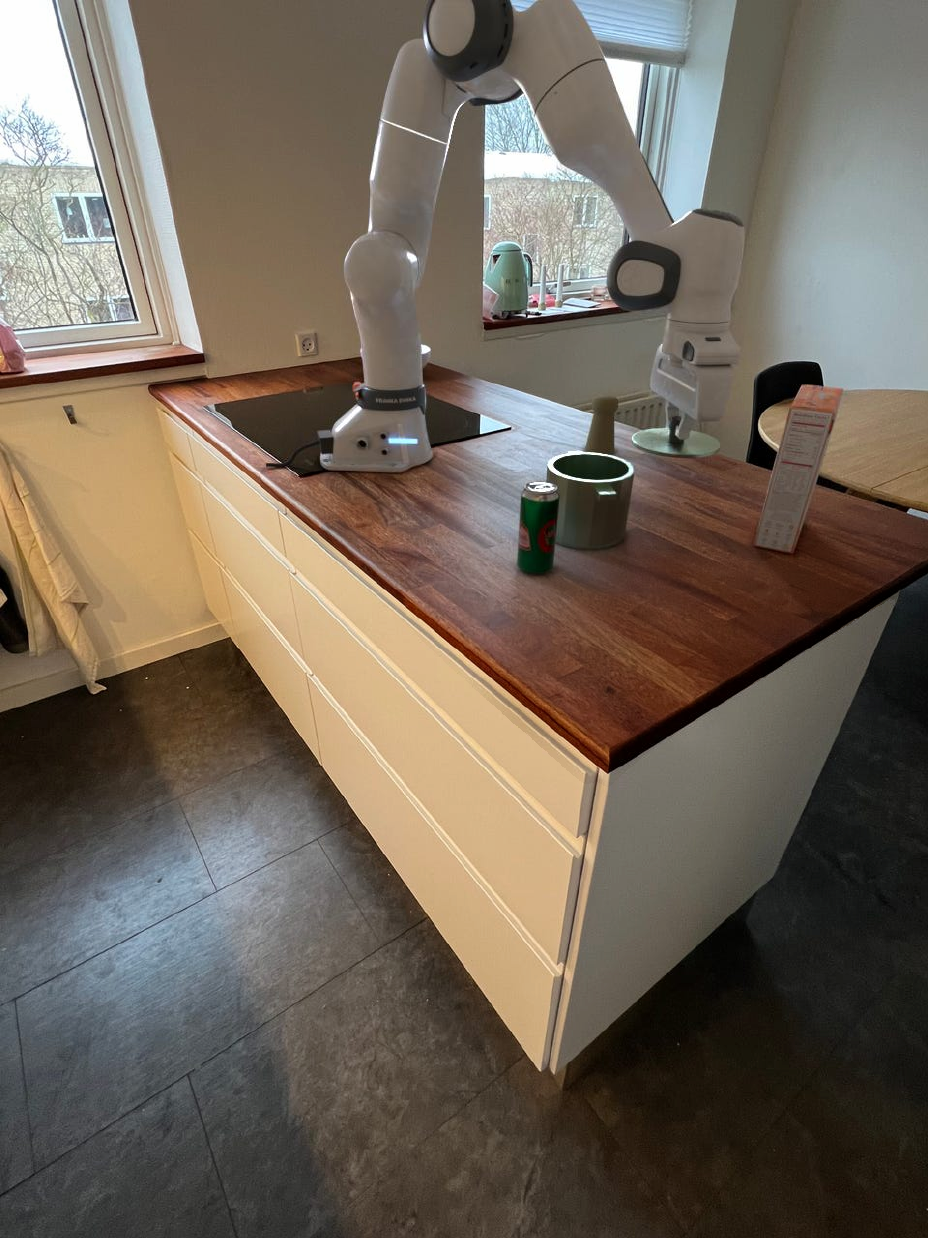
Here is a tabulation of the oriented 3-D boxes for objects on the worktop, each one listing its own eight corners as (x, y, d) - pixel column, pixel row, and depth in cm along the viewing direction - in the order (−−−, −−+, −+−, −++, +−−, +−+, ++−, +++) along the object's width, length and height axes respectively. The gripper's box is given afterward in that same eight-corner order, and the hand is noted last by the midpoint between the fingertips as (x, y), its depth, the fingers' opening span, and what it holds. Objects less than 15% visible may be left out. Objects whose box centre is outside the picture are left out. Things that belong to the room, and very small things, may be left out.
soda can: (514, 560, 91) (518, 480, 84) (549, 558, 91) (556, 479, 85) (520, 577, 87) (524, 494, 80) (556, 576, 87) (564, 493, 80)
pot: (557, 560, 91) (563, 491, 85) (532, 509, 106) (536, 448, 100) (641, 555, 92) (654, 487, 86) (605, 506, 107) (613, 445, 101)
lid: (648, 463, 95) (653, 432, 93) (619, 436, 107) (623, 408, 104) (734, 460, 97) (741, 429, 94) (697, 433, 108) (702, 405, 105)
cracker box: (764, 513, 105) (801, 382, 93) (803, 521, 102) (847, 387, 91) (749, 546, 95) (788, 403, 83) (792, 556, 92) (839, 410, 81)
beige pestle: (614, 455, 129) (621, 400, 123) (584, 453, 130) (590, 398, 124) (614, 446, 134) (621, 392, 128) (585, 444, 135) (591, 391, 129)
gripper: (648, 329, 101) (635, 416, 109) (702, 354, 84) (683, 455, 92) (685, 328, 102) (670, 415, 109) (747, 353, 85) (724, 454, 92)
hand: (676, 434), depth 100 cm, fingers closed on lid, 2 cm apart
